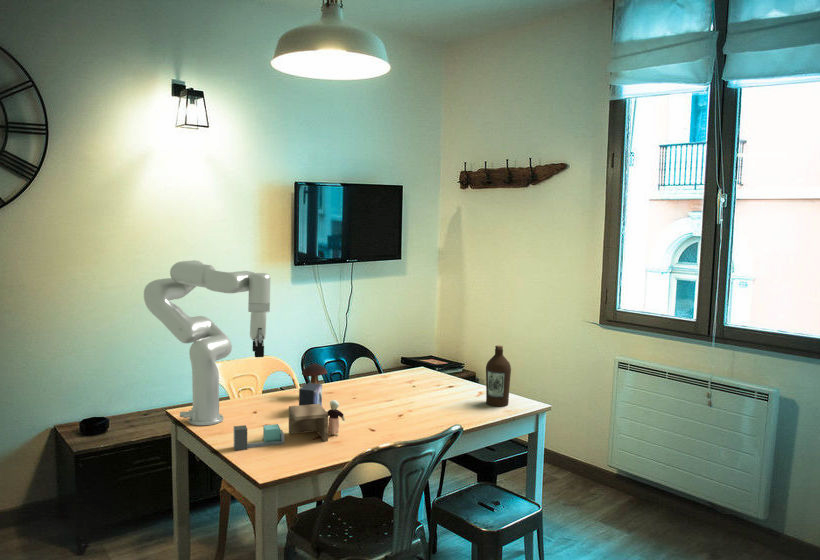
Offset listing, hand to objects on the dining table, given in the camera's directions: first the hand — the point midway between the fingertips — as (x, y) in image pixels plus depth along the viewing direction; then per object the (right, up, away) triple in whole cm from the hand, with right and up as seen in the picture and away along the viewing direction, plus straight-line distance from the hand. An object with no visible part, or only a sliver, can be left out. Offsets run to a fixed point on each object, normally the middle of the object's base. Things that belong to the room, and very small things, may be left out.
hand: (258, 354), depth 231 cm
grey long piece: (+4, -29, -15) cm, 33 cm away
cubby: (+19, -29, -6) cm, 35 cm away
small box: (+15, -26, +24) cm, 39 cm away
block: (+7, -29, -10) cm, 32 cm away
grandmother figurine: (+28, -29, -3) cm, 40 cm away
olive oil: (+92, -26, +41) cm, 104 cm away
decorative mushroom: (+14, -24, +45) cm, 53 cm away
